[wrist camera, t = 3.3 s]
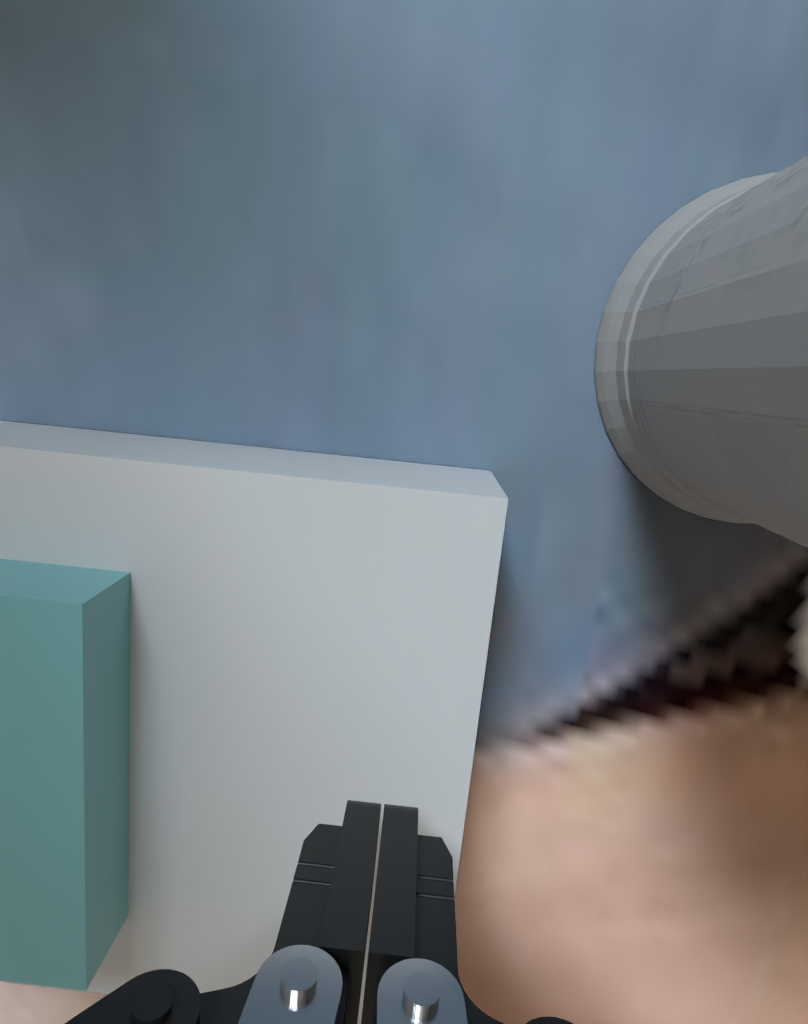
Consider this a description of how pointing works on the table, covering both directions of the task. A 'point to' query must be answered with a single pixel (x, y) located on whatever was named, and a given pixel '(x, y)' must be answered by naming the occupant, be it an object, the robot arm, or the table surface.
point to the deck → (266, 660)
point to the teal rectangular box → (63, 770)
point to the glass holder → (716, 355)
